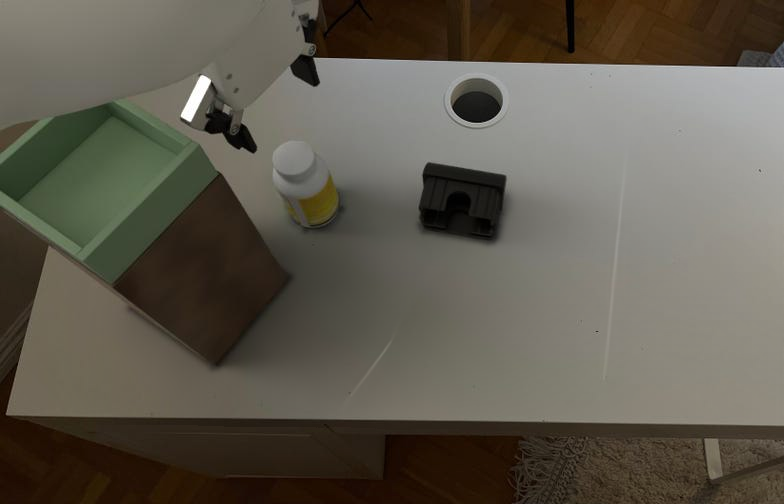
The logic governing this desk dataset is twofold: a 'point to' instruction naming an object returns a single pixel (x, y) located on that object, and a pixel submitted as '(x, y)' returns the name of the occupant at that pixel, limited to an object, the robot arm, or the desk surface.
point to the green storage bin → (102, 182)
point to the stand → (199, 273)
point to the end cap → (461, 200)
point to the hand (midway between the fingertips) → (276, 111)
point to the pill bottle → (304, 184)
